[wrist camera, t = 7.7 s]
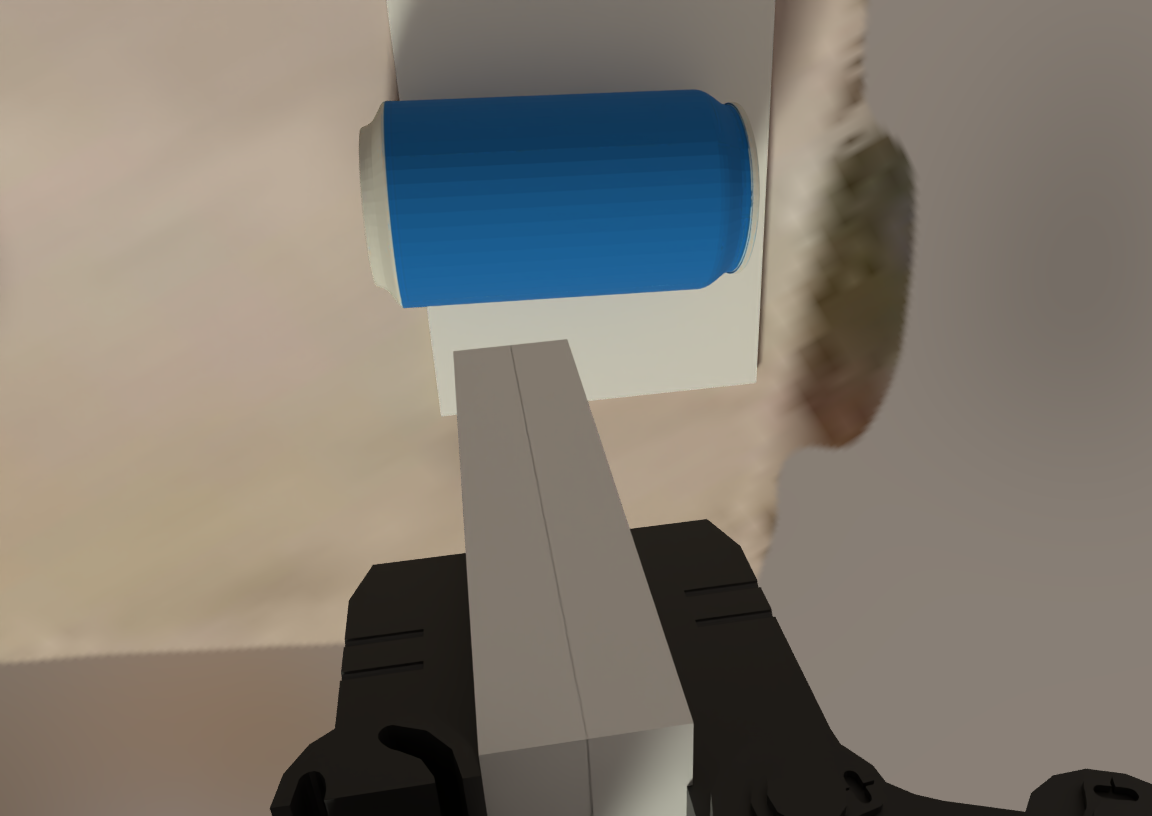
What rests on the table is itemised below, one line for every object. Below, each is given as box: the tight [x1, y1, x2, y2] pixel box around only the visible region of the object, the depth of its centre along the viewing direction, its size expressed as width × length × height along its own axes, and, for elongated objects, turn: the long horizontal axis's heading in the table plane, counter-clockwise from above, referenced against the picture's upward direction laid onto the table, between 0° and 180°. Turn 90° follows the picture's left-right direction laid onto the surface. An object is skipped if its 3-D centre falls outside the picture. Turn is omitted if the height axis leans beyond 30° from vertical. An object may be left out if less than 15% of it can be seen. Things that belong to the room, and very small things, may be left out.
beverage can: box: [359, 89, 760, 308], centre depth 30 cm, size 6×6×12 cm
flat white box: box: [386, 0, 775, 416], centre depth 33 cm, size 22×13×1 cm, turn 3°
